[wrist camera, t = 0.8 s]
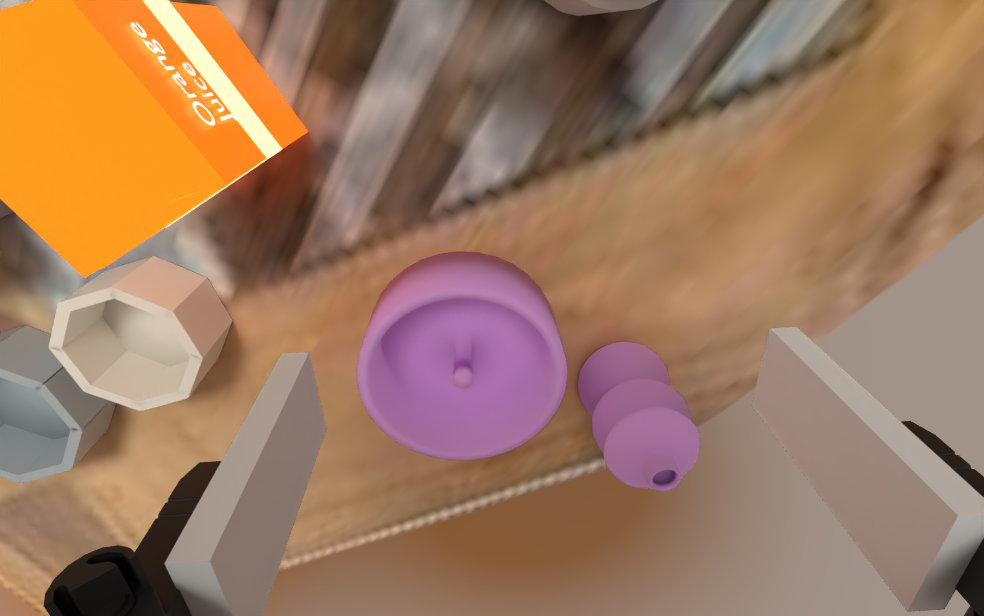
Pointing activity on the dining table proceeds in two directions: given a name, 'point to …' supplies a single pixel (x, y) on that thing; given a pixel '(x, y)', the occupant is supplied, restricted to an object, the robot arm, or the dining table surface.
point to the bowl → (141, 333)
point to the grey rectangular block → (4, 209)
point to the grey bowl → (43, 410)
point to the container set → (509, 374)
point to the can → (596, 6)
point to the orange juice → (126, 119)
